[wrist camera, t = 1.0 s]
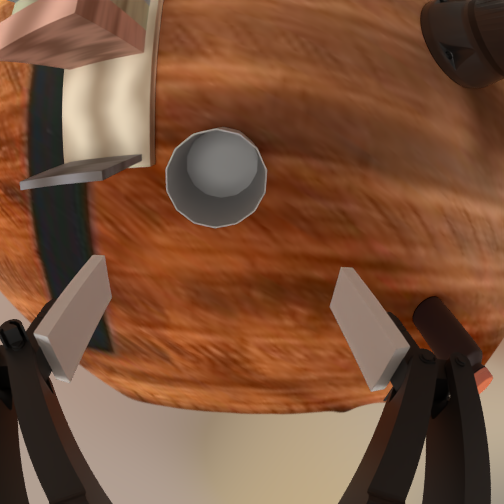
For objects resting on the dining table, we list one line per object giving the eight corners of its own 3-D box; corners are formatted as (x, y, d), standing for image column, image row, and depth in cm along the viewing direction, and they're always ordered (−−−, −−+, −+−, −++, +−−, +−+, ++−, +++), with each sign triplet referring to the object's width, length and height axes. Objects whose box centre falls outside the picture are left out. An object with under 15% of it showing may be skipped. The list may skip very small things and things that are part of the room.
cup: (175, 145, 29) (148, 157, 21) (240, 115, 28) (241, 112, 19) (205, 207, 33) (194, 242, 24) (269, 180, 32) (281, 205, 23)
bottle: (413, 330, 45) (461, 408, 27) (410, 308, 42) (466, 392, 25) (441, 313, 44) (493, 384, 26) (439, 289, 41) (501, 365, 23)
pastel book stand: (165, -14, 19) (118, -85, 4) (155, 163, 30) (84, 207, 15) (81, 7, 19) (5, -29, 4) (73, 170, 29) (-17, 216, 14)
